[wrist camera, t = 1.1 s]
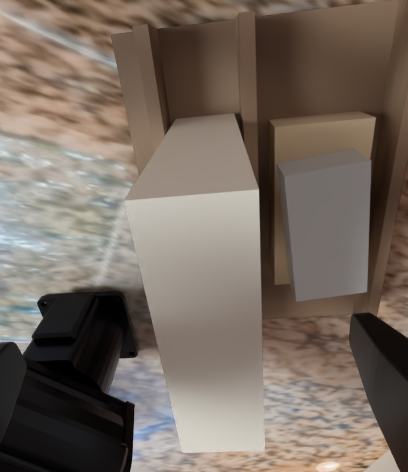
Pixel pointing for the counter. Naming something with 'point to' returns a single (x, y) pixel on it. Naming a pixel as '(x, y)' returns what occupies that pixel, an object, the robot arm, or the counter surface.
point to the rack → (282, 105)
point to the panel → (204, 280)
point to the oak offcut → (303, 146)
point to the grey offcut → (326, 223)
